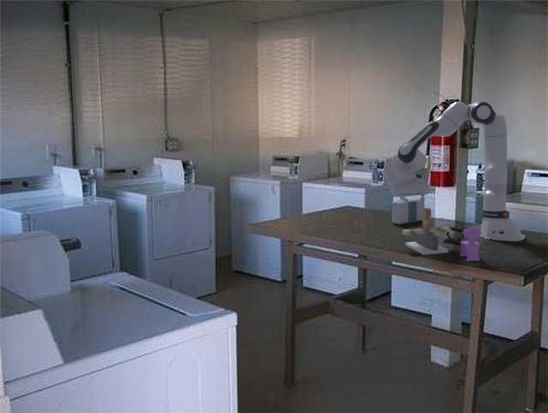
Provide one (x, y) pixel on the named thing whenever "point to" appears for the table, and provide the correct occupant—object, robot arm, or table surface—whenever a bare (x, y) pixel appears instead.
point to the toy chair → (471, 244)
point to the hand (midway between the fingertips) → (414, 201)
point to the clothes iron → (454, 240)
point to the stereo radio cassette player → (407, 211)
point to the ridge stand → (426, 244)
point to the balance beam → (426, 226)
